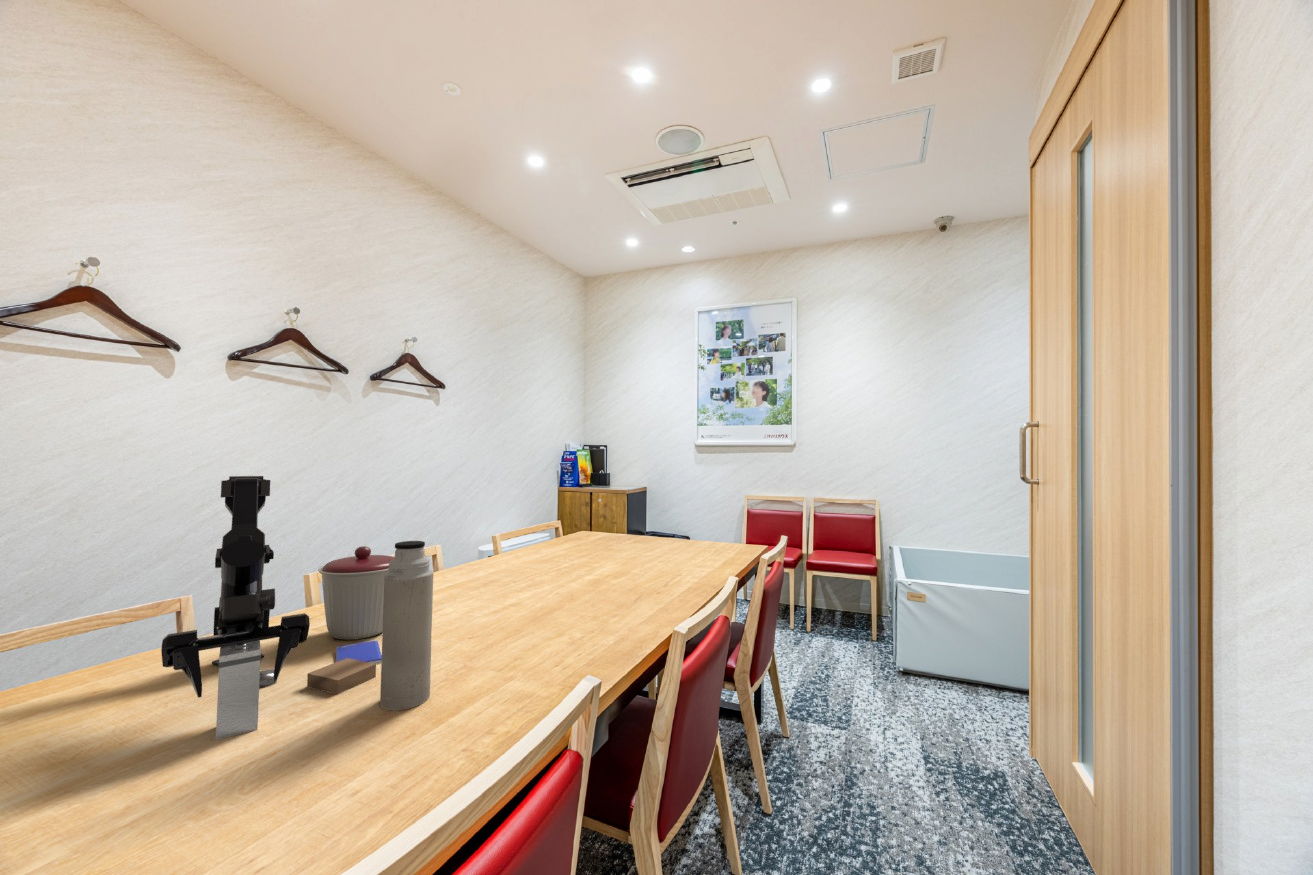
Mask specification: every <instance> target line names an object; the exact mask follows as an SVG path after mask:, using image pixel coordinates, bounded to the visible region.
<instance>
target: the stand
mask: <svg viewBox="0 0 1313 875" xmlns="http://www.w3.org/2000/svg"><path fill="white" fill-rule="evenodd" d="M376 677H377V664H374V663H369V662H365V661H360V660H355V659H350V658H345V659H343V660H340V661H338V662H336V661H335V662H333V663H330V664H328V665H326V666H323V667H320V668H318V669H315V670H313V671H310V672H308V673H307V680H306V683H307V684H306V687H307V688H310V689H313V690H319V691H323V692H327V693H330V694H335V695H339V694H341V693H344V692H346V691H348V690H350V689H352V688H354V687H357V686H359V685H361V684H363V683H365V682H367V681H370V680H372V679H374V678H376Z"/></svg>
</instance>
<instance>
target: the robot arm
mask: <svg viewBox="0 0 1313 875" xmlns="http://www.w3.org/2000/svg"><path fill="white" fill-rule="evenodd" d="M270 496H271V479H265V478H264V475H234V476H233V475H230V476H229V478H228V479H226V480H224V479H223V480H221V483H220V498H224V506H225V508H226V509H227V511H228V512H229V513H230V515H231V516H232V517H231V529H230V530H229V531H228V532H226V533H225V534H224V535H223V536H222V542H221V548H216V553H215V558H214V559H215V560H214V562H215V563H214V565H215V566H214V569H220V570H221V571H220V578H221V582H220V584H221V585H220V586H221V587H220V597H219V603H218V604H219V606H216V607H214V615H213V635H208V636H204V637H203V636H202V637H198V629H192V630H187V631H186V630H185V631H180V632H174V633H168V634H167V635H166V636H165V637H163V639H162V643H161V649H160V652H161V663H162V664H161V665H162V667H164V668H172V667H173V668H172V669H173V670H174V671H180V670H182V671H183V672H184V674H185V675H186V677H187V678H188V679H189V680H190V683H191V685H192V688H193V689H194V691H195V694H196V696H197V698H202V696H203V680H202V669H201V663H200V651H201V652H202V651H206V650H212V649H213V650H214V649H219V648H220V647H225V646H231V645H235V644H239V643H248V642H254V641H259V640H260V641H263V640H270V639H276V638H278V641H277V642H278V644H277V649H276V656H275V661H274V667H273V670H274V674H273V676H274V681H277V682H278V678H279V676H280V673H281V671H282V668H283V665H284V662H285V660H287V657H288V656H289V653H290V651H292V649H296V648H297V647H299V644H302V643H304V642H307V640H308V635H309V630H310V624H311V623H310V622H311V621H310V616H309V614H307V613H305V612H304V613H298V614H297V613H296V614H291V615H285V616H281V619H280V624H279V625H273V626H272V625H271V626H270V613H271V610H275V607H276V588H267V589H263V575H264V571H265V570H264V569H265V568H264V567H265V564H270V561H271V560H274V559H275V556H274V555H275V553H274V550H273V549H271V548H272V547H271V546H270V544H266V534H265V532H263V531H262V530H261V529H259V528H258V519H259V517H258V514H260V512H261V510H262V509H263V508H264V507H265V504H266V500H267V499H266V498H267V497H270ZM263 658H265V654H263V653H261V659H263ZM211 664H212V665H215V666H217V667H219V658H218V659H216V660H212V662H211Z"/></svg>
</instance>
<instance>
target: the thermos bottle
mask: <svg viewBox="0 0 1313 875" xmlns="http://www.w3.org/2000/svg"><path fill="white" fill-rule="evenodd" d="M425 544H426V542H425V541H423V540H405V541H398V542H396V543H395V544H394V548H395V552H394V557H395V559H393V560H392V561H390V562H389V568H388V570H389V573H387V574H386V575H385V576H384V600H383V631H382V633H381V636H382V637H381V655H382V662H381V663H380V666H381V667H380V696H379V697H380V698H379V699H380V700H379V703H380V705H379V706H380V707H381V708H382V709H384V710H386V711H404V710H408V709H412V708H415V707H418V706H420V705H422V704H424V703H425V702H427V701H428V700H429V698H430V696H431V666H432V663H431V662H432V630H433V629H432V627H433V626H432V625H433V602H434V601H433V598H434V571H433V570H431V569H430V565H431V562H430V559H429V558H428V557H427V556H425V552H426V551H425V550H426V549H425V546H426V545H425Z"/></svg>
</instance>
